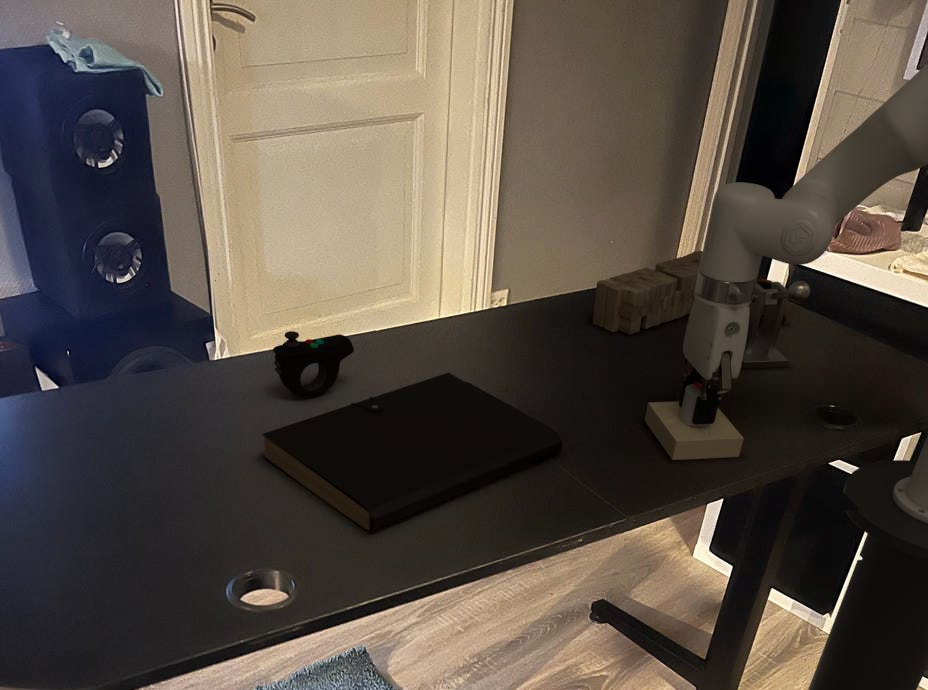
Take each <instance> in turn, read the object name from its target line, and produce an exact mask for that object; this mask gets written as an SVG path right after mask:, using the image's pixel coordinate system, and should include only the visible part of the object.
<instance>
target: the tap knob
mask: <svg viewBox="0 0 928 690" xmlns="http://www.w3.org/2000/svg"><path fill="white" fill-rule="evenodd" d="M701 385H702V384H700V383H699V382H694V384H690V385H688V386H687V387H686V389H685V393H684V398H683V403H682V407H681V412H680V420H681V421H682V422H684V423H686V424H688V425H692V426H706V425H708V424H699V425H694V424H693V423H692V418H693V413H694V409H695V404H696V400H697V397H700V394H701ZM711 386H712V385H709V387H708V389H709V388H710V387H711Z"/></svg>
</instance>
